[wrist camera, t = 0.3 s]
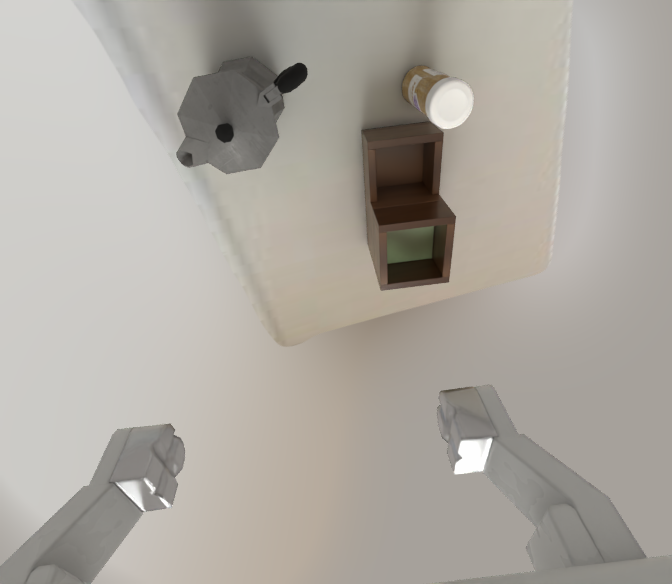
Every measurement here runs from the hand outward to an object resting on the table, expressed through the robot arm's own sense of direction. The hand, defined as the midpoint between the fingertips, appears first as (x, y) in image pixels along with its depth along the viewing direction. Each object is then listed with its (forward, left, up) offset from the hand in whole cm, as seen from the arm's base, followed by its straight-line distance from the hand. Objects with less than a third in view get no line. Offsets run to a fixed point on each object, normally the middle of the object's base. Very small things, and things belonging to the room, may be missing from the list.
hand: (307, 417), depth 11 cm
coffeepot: (-3, -6, -46) cm, 47 cm away
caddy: (+12, +12, -46) cm, 49 cm away
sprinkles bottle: (-1, +15, -46) cm, 49 cm away
